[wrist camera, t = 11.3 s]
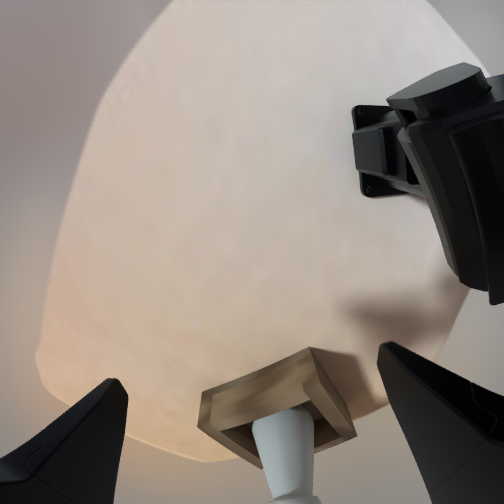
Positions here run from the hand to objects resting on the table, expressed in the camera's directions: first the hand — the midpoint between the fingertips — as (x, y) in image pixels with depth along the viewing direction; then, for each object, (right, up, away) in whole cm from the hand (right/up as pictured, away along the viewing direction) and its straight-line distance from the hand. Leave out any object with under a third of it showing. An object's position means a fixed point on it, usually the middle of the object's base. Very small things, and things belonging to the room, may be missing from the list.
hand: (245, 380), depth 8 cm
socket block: (+3, -12, +17) cm, 21 cm away
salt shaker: (+3, -11, +16) cm, 20 cm away
